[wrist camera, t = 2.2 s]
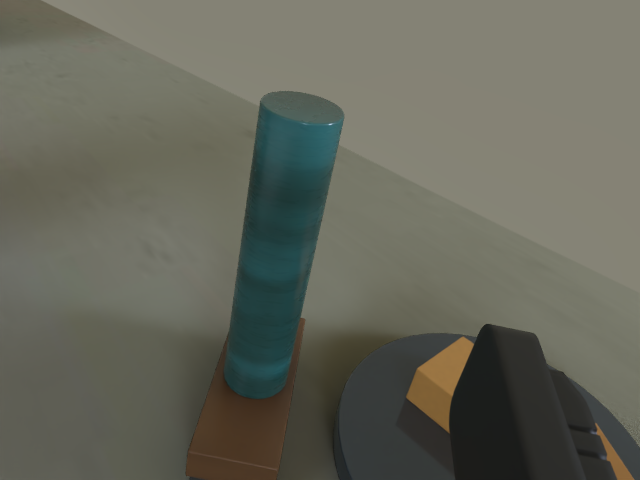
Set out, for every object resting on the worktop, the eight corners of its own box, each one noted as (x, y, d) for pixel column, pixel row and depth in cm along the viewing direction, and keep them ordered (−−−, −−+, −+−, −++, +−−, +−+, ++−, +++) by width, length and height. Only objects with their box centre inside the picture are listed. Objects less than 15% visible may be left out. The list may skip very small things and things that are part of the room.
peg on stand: (269, 508, 23) (348, 176, 15) (183, 491, 23) (217, 148, 15) (297, 353, 31) (359, 78, 23) (232, 340, 31) (272, 59, 23)
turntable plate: (283, 375, 30) (287, 358, 29) (507, 330, 36) (514, 315, 36) (455, 715, 19) (467, 700, 18) (730, 562, 25) (746, 546, 25)
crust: (405, 397, 28) (416, 368, 27) (451, 363, 31) (462, 335, 30) (474, 454, 26) (489, 425, 25) (517, 413, 29) (532, 384, 28)
